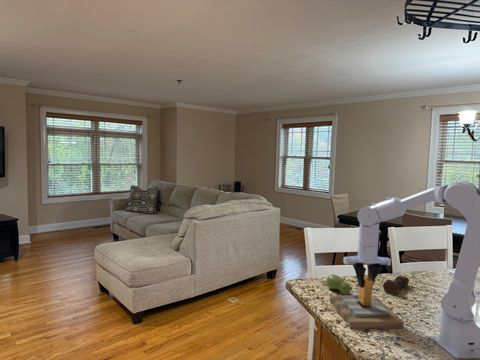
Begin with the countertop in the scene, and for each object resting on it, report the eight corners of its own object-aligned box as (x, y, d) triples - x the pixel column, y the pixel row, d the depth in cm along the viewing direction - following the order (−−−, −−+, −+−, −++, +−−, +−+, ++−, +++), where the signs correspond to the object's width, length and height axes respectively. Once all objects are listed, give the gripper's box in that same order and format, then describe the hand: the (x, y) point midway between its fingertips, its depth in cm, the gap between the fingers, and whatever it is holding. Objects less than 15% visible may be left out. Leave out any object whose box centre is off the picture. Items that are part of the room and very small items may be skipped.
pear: (333, 271, 127) (356, 283, 120) (330, 283, 128) (353, 296, 121) (325, 273, 123) (348, 286, 116) (322, 286, 124) (345, 300, 117)
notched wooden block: (371, 305, 102) (372, 280, 101) (363, 305, 102) (365, 280, 101) (364, 299, 107) (366, 275, 106) (357, 299, 106) (359, 275, 106)
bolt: (406, 289, 131) (391, 298, 120) (395, 280, 134) (379, 288, 123) (415, 279, 128) (400, 287, 118) (404, 270, 131) (388, 277, 121)
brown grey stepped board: (403, 328, 96) (404, 315, 96) (350, 328, 95) (351, 314, 95) (374, 301, 114) (375, 290, 114) (329, 300, 113) (330, 289, 113)
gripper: (384, 241, 107) (381, 281, 108) (340, 240, 106) (338, 281, 107) (395, 247, 100) (392, 290, 101) (349, 246, 99) (346, 290, 100)
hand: (365, 286), depth 104 cm, fingers closed on notched wooden block, 2 cm apart
